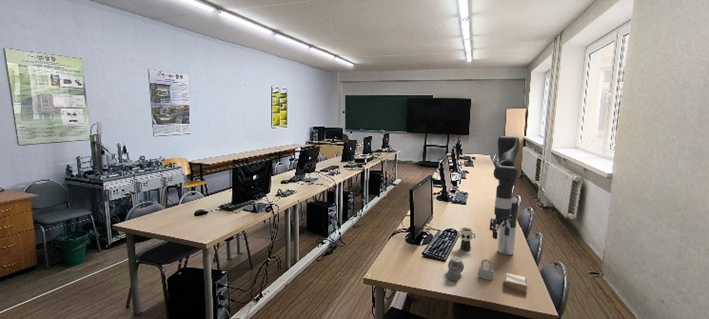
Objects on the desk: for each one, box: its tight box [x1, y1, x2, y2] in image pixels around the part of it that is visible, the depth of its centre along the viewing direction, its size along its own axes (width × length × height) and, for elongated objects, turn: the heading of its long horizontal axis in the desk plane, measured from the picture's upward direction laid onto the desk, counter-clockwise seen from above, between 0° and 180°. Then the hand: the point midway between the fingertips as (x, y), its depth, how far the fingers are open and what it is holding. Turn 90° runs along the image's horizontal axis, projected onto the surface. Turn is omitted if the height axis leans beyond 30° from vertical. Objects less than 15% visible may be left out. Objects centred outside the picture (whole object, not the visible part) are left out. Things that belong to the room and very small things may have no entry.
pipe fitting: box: [446, 256, 465, 282], centre depth 173 cm, size 12×8×10 cm
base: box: [503, 272, 528, 295], centre depth 164 cm, size 10×10×4 cm
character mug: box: [456, 227, 476, 251], centre depth 208 cm, size 11×7×13 cm, turn 66°
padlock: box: [477, 258, 495, 281], centre depth 172 cm, size 7×4×10 cm, turn 58°
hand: (500, 237), depth 165 cm, fingers open, 8 cm apart
